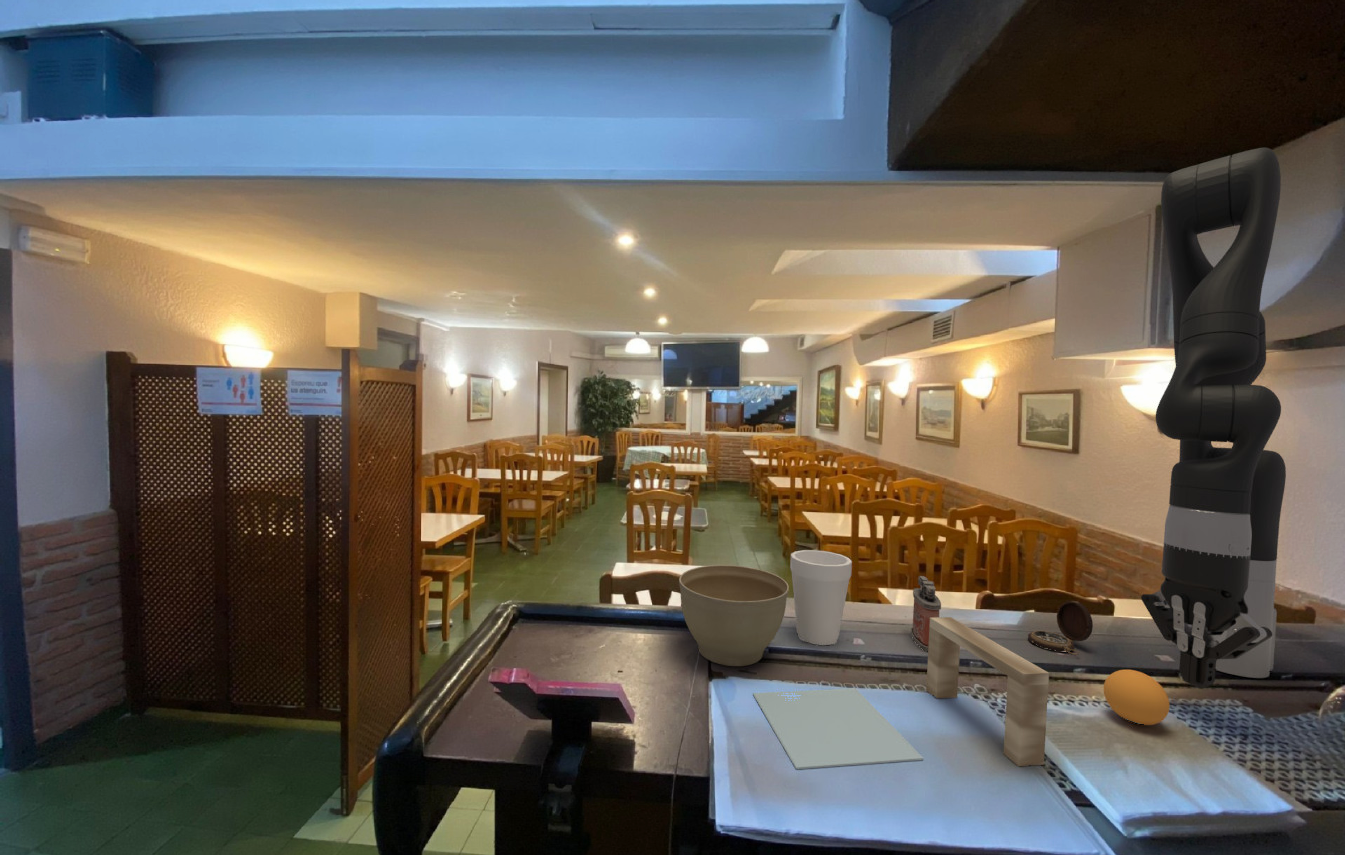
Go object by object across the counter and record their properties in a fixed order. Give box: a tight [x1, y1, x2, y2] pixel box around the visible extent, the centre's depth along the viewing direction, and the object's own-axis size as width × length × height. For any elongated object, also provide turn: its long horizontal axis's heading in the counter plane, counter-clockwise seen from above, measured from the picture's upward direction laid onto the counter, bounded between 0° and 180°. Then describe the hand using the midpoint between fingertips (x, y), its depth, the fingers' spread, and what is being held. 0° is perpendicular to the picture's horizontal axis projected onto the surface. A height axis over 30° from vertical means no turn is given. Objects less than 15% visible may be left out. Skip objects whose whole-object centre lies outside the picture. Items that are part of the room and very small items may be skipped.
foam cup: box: [789, 549, 853, 645], centre depth 84 cm, size 10×9×13 cm
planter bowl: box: [678, 564, 790, 667], centre depth 78 cm, size 16×16×11 cm
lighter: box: [910, 575, 942, 652], centre depth 84 cm, size 8×3×10 cm, turn 168°
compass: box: [1027, 600, 1094, 655], centre depth 84 cm, size 8×8×7 cm
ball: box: [1103, 669, 1171, 726], centre depth 63 cm, size 6×6×6 cm
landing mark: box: [752, 687, 924, 770], centre depth 60 cm, size 14×14×1 cm
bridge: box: [925, 616, 1050, 767], centre depth 62 cm, size 3×15×10 cm, turn 9°
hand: (1195, 684), depth 65 cm, fingers closed
